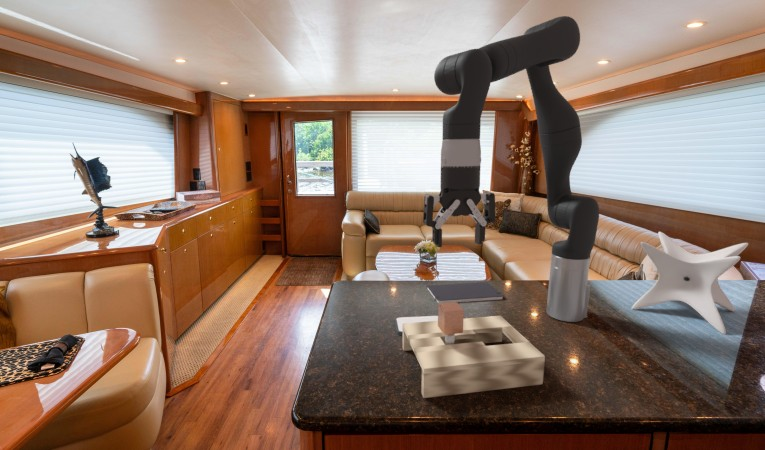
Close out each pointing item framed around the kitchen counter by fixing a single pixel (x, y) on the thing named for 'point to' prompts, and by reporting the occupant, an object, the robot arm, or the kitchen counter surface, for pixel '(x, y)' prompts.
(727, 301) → the white spiked concave cube
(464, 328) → the keyhole plate
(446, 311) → the footed peg
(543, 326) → the kitchen counter surface
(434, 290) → the notebook
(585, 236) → the robot arm
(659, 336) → the kitchen counter surface
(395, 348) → the kitchen counter surface
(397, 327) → the smartphone
